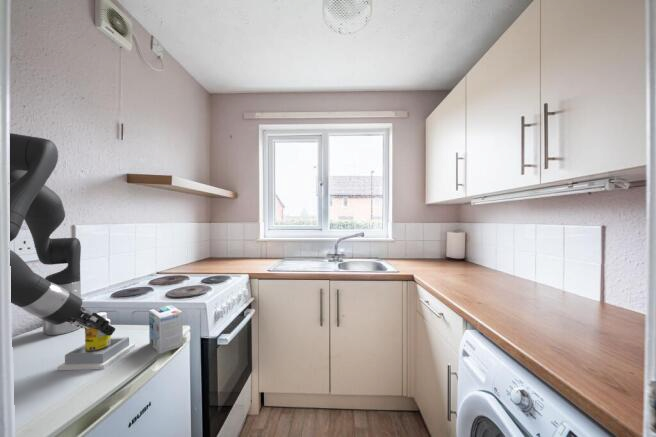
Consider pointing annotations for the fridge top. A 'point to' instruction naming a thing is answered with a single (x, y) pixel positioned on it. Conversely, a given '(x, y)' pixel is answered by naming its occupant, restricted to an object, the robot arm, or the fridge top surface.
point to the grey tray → (96, 356)
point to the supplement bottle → (97, 338)
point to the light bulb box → (165, 328)
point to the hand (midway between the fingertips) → (104, 330)
